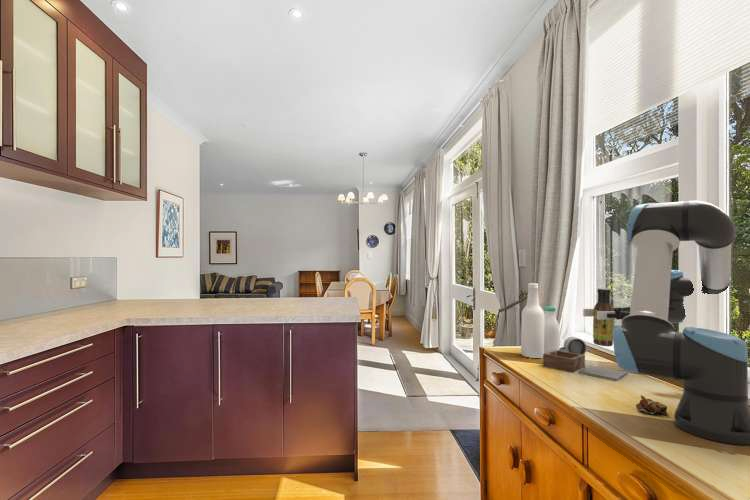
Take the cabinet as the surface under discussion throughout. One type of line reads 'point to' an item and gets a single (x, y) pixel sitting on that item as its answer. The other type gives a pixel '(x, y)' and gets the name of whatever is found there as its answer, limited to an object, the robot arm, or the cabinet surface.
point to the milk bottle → (550, 330)
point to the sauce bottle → (603, 320)
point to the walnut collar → (564, 360)
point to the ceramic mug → (574, 346)
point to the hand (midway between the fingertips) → (590, 313)
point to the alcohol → (532, 325)
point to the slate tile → (603, 372)
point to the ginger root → (651, 406)
